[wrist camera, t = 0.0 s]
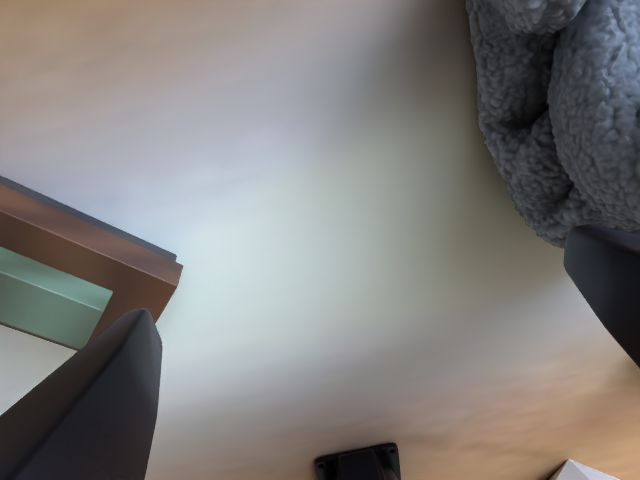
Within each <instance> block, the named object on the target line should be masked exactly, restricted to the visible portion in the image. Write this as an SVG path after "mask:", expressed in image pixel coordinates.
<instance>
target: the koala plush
mask: <svg viewBox="0 0 640 480" xmlns="http://www.w3.org/2000/svg"><path fill="white" fill-rule="evenodd" d="M465 7H466V11H467V12H468V13H469V14H468V16H469V17H468V18H469V21H470V24H469V25H470V27H471V29H470V33H471V35H472V36H471V39H470V41H471V43H472V45H473V46H474V52H473V53H474V56H475V61H476V62H477V65H476V73H477V75H478V78H477V86H478V98H477V103H478V109H479V110H480V113H479V116H478V120H479V126H480V130H482V131H483V132H484V136H485V137H487V138H486V139H485V141H484V144H485V145H487V147H488V149H489V151H490V154H491V155H492V156H493V157H494V162H495V164H496V166H497V167H498V169H499V175H500V176H501V177H502V178H503V179H504V180H505V181H506V182H507V183H506V187H507V193H508V195H509V197H510V198H511V199H512V201H513V202H514V205H515V209H516V210H517V211H519V213H520V215H521V216H522V217H525V219H526V220H525V221H526V222H525V223H526V225H527V226H530V227H531V228H532V229H534V231H536V234H537V236H541V237H543V239H544V241H545V242H549V243H551V244H552V245H553V246H558V247H560V248H563V249H565V246H566V239H567V233H568V231H569V229H570V228H572V227H574V226H579V225H584V224H595V225H600V226H604V227H609V228H613V229H618V230H622V231H627V232H632V233H636V234H640V0H466V5H465Z"/></svg>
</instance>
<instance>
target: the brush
mask: <svg viewBox="0 0 640 480" xmlns="http://www.w3.org/2000/svg"><path fill="white" fill-rule="evenodd" d="M176 257H177V256H176V255H175V254H173V253H171V252H169V251H166V250H164V249H162V248H160V247H158V246H155V245H153V244H151V243H149V242H146V241H144V240H142V239H140V238H138V237H135V236H133V235H131V234H129V233H127V232H124V231H122V230H120V229H118V228H115V227H113V226H111V225H109V224H107V223H104V222H102V221H100V220H98V219H95V218H93V217H91V216H89V215H87V214H84V213H82V212H80V211H78V210H76V209H73V208H71V207H69V206H67V205H64V204H62V203H60V202H58V201H56V200H53V199H51V198H49V197H47V196H45V195H42V194H40V193H38V192H36V191H33V190H31V189H29V188H27V187H25V186H22V185H20V184H18V183H16V182H13V181H11V180H9V179H7V178H5V177H2V176H0V324H1V325H4V326H6V327H9V328H12V329H15V330H18V331H21V332H24V333H27V334H30V335H33V336H36V337H38V338H41V339H44V340H47V341H50V342H53V343H56V344H59V345H62V346H65V347H68V348H70V349H73V350H76V351H79V350H80V349H82V348H83V347H84V346H85V345H86V344H88V343H89V342H90V341H91V340H93V339H94V338H95V337H96V336H97V335H99V334H100V333H101V332H102V331H103V330H105V329H106V328H107V327H108V326H109V325H111V324H112V323H113V322H114V321H115V320H117V319H118V318H119V317H120V316H121V315H123V314H124V313H125V312H127V311H132V310H137V309H142V308H145V309H147V310H148V311H149V312H150V314H151V316H152V318H153V321H154V323H156V322H157V320H158V318H159V317H160V315H161V313H162V312H163V310H164V308H165V307H166V305H167V303H168V302H169V300H170V298H171V296H172V295H173V293H174V291H175V290H176V288H177V286H178V283H179V279H180V276H181V272H182V269H183V265H181V264H179V263H177V262H175V260H176Z"/></svg>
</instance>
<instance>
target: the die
mask: <svg viewBox="0 0 640 480" xmlns="http://www.w3.org/2000/svg"><path fill="white" fill-rule="evenodd" d="M549 480H620V479H617V478H615V477H612V476H610V475H607V474H605V473H602V472H600V471H597V470H595V469H592V468H590V467H587V466H585V465H582V464H580V463H577V462H574V461H572V460H569V459H568V460H567V461H566V462H565V463H564V464H563V465H562V466H561V468H560V469H559V470H558V471H557V472H556V473H555V474H554V475H553V476H552V477H551V478H550V479H549Z"/></svg>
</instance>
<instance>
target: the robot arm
mask: <svg viewBox="0 0 640 480" xmlns="http://www.w3.org/2000/svg"><path fill="white" fill-rule="evenodd" d="M564 267H565V270H566V272H567V273H568V275H569V276H570V278H571V279H572V280H573V282H574V283H575V285H576V286H577V288H578V289H579V291H580V292H581V294H582V295H583V297H584V298H585V299H586V301H587V302H588V304H589V305H590V307H591V308H592V310H593V311H594V313H595V314H596V316H597V317H598V318H599V320H600V321H601V322H602V324H603V325H604V327H605V328H606V329H607V330H608V331H609V333H610V334H611V335H612V336H613V338H614V339H615V340H616V341H617V342H618V343H619V345H620V346H621V347H622V348H623V349H624V350H625V352H626V353H627V354H628V355H629V356H630V358H631V359H632V360H633V361H634V362H635V363H636V365H637V366H638V367H639V368H640V234H636V233H632V232H627V231H622V230H618V229H613V228H609V227H604V226H600V225H595V224H584V225H579V226H574V227H572V228H570V229H569V231H568V233H567V239H566V246H565V253H564ZM161 361H162V341H161V338H160V335H159V333H158V330H157V328H156V325H155V323H154V321H153V318H152V316H151V314H150V312H149V311H148V310H147V309H145V308H142V309H137V310H132V311H127V312H125V313H124V314H123V315H121V316H120V317H119V318H118V319H117V320H115V321H114V322H113V323H112V324H111V325H109V326H108V327H107V328H106V329H105V330H103V331H102V332H101V333H100V334H99V335H97V336H96V337H95V338H94V339H93V340H91V341H90V342H89V343H88V344H86V345H85V346H84V347H83V348H82V349H80V350H79V351H78V352H77V353H76V354H74V355H73V356H72V357H71V358H70V359H68V360H67V361H66V362H65V363H64V364H62V365H61V366H60V367H59V368H58V369H56V370H55V371H54V372H53V373H51V374H50V375H49V376H48V377H47V378H45V379H44V380H43V381H42V382H41V383H39V384H38V385H37V386H36V387H35V388H33V389H32V390H31V391H30V392H29V393H27V394H26V395H25V396H24V397H23V398H21V399H20V400H19V401H18V402H17V403H15V404H14V405H13V406H12V407H10V408H9V409H8V410H7V411H6V412H4V413H3V414H2V415H1V416H0V480H144V479H145V474H146V469H147V464H148V459H149V454H150V449H151V444H152V439H153V434H154V429H155V424H156V418H157V410H158V399H159V387H160V374H161ZM314 465H315V471H316V475H317V479H318V480H401V476H400V464H399V453H398V448H397V445H396V444H395V443H393V442H392V443H386V444H381V445H376V446H371V447H367V448H362V449H357V450H352V451H347V452H343V453H338V454H333V455H328V456H323V457H319V458H317V459H315V461H314Z"/></svg>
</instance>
